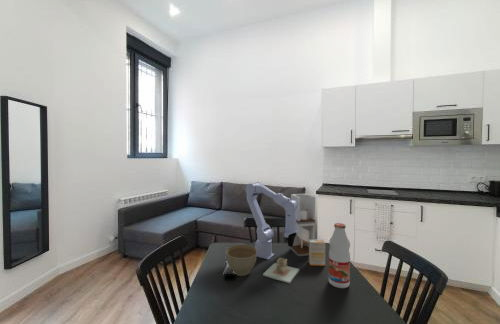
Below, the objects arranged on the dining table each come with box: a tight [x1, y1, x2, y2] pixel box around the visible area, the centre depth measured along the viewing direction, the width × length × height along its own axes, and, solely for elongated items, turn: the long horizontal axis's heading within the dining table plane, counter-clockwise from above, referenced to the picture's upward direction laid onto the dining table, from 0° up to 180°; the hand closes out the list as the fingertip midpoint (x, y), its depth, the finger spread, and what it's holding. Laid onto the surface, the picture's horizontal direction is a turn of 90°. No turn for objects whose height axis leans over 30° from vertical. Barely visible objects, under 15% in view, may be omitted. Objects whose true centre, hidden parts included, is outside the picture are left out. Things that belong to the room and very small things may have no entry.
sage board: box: [262, 262, 300, 284], centre depth 121 cm, size 14×14×1 cm
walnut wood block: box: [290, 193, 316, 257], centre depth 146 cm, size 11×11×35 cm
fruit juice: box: [328, 222, 351, 289], centre depth 111 cm, size 9×9×28 cm
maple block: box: [276, 257, 288, 274], centre depth 121 cm, size 4×4×6 cm
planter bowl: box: [225, 244, 257, 277], centre depth 122 cm, size 16×16×11 cm
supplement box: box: [308, 238, 326, 267], centre depth 130 cm, size 8×5×13 cm, turn 84°
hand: (290, 246), depth 132 cm, fingers closed
